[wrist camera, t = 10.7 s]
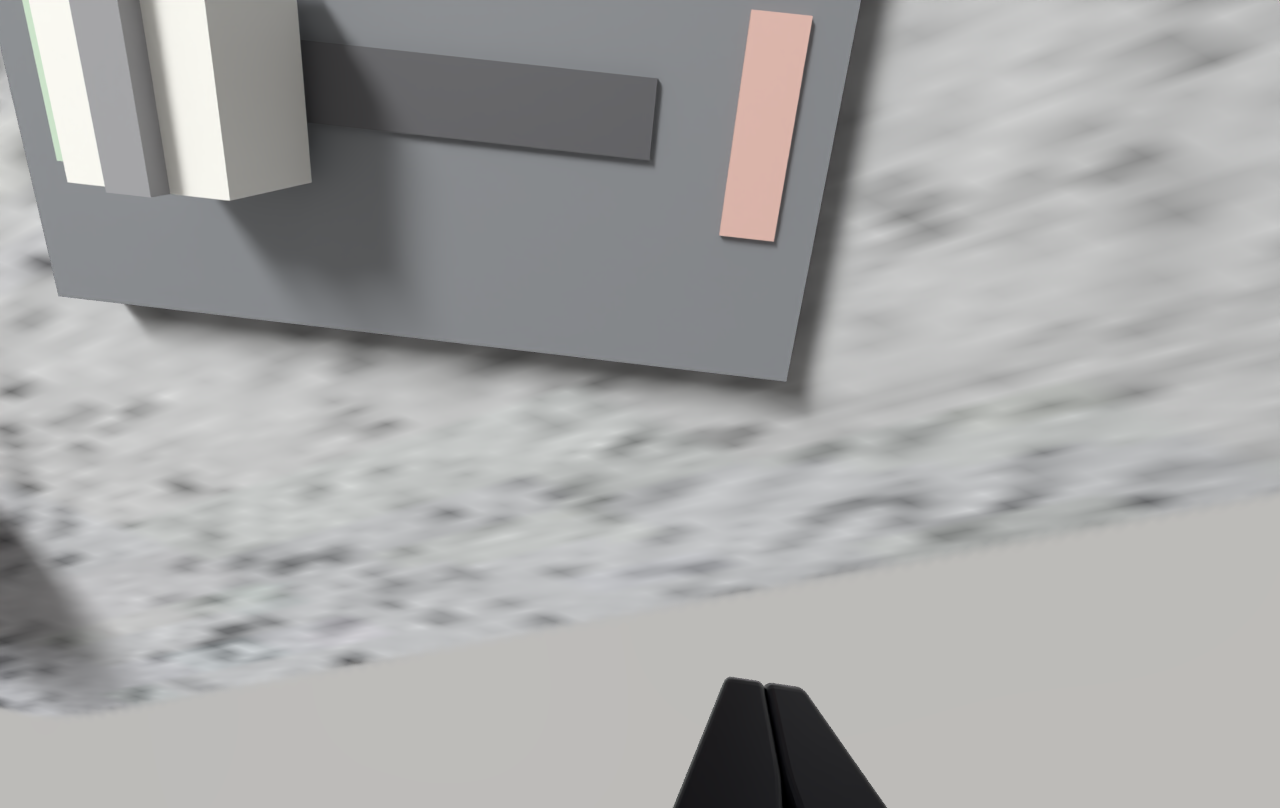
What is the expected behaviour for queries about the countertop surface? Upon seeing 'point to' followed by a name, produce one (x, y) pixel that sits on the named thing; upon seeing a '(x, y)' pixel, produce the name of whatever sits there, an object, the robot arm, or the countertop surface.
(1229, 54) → the countertop surface
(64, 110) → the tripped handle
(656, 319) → the panel
